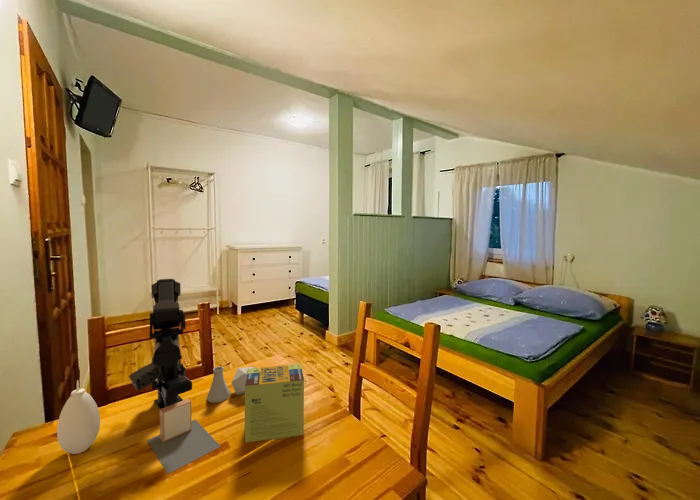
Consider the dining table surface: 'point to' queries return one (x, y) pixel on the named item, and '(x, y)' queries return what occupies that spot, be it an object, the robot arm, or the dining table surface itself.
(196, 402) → the dining table surface
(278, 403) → the protein box
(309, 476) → the dining table surface
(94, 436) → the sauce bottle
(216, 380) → the flask
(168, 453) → the mat
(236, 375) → the pale grey faceted chunk
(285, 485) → the dining table surface
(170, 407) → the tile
